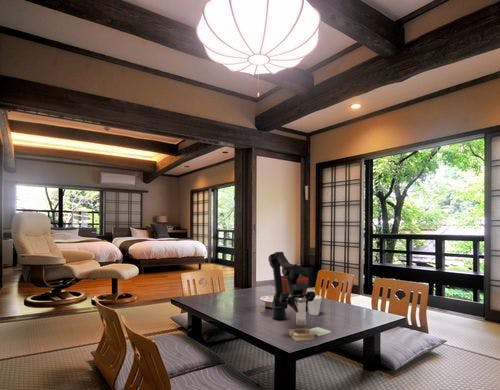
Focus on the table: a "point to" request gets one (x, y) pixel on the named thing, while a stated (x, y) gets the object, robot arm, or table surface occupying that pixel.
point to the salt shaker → (301, 310)
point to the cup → (314, 305)
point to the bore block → (301, 334)
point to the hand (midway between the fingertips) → (302, 311)
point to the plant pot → (300, 280)
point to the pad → (319, 331)
